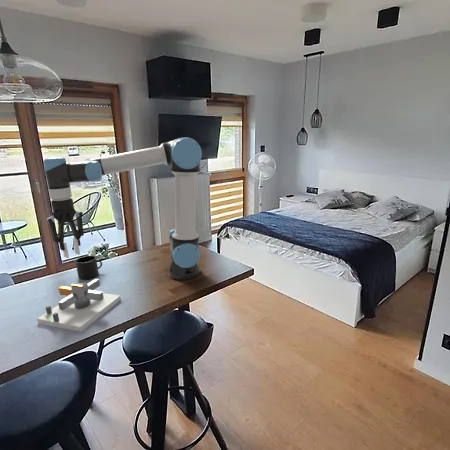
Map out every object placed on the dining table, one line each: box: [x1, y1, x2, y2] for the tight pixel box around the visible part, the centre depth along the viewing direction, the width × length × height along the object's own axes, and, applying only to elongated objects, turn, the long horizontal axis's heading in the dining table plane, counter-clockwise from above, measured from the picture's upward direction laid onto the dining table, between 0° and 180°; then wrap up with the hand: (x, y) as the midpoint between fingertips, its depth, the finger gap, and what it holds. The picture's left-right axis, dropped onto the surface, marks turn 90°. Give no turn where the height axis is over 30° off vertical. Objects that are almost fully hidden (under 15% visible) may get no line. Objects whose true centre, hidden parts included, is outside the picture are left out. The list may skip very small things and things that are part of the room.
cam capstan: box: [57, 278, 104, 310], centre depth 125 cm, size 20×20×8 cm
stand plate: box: [36, 292, 122, 333], centre depth 124 cm, size 20×24×5 cm
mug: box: [75, 255, 103, 281], centre depth 157 cm, size 9×12×9 cm
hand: (72, 255), depth 128 cm, fingers open, 4 cm apart
